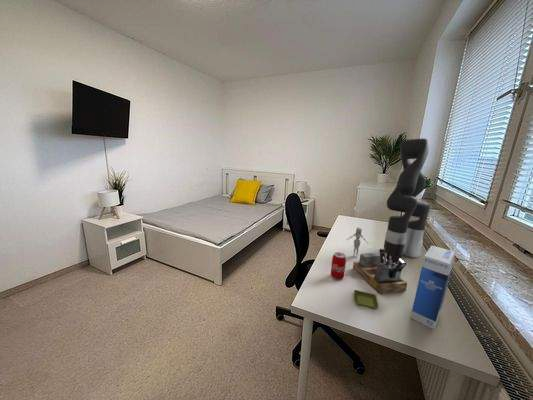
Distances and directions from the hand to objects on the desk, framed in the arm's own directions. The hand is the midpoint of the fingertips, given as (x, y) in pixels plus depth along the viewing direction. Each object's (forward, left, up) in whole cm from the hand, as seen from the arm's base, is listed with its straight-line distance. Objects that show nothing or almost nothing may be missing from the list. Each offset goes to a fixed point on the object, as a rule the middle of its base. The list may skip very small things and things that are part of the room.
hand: (388, 275), depth 96 cm
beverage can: (+19, -11, -6) cm, 23 cm away
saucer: (+16, +7, -7) cm, 19 cm away
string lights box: (-3, +17, -6) cm, 19 cm away
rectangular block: (+1, 0, -4) cm, 4 cm away
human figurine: (-2, -29, -6) cm, 29 cm away
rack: (0, -7, -6) cm, 9 cm away
